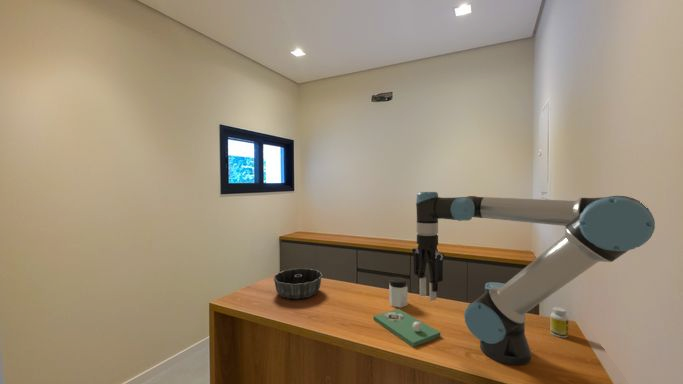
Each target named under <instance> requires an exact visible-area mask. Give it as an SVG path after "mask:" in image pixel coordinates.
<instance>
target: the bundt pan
mask: <svg viewBox="0 0 683 384" xmlns="http://www.w3.org/2000/svg"><path fill="white" fill-rule="evenodd" d="M322 278H323V274H322V272H321V271H319V270H318V269H312V268H302V267H301V268H292V269H286V270H282V271H279V272H277V274H275V275H274V276H273V281H274V285H275V290H276V293H277V294H278V295H280V296H281V297H282V298H287V300H291V299H294V300H299V299H302V300H303V299H305V298H310V297H312V296H314V295H316V294H317V293H318V291H319V290H320V288H321V283H322V282H321V281H322Z"/></svg>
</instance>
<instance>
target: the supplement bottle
mask: <svg viewBox="0 0 683 384" xmlns="http://www.w3.org/2000/svg"><path fill="white" fill-rule="evenodd" d="M549 322H550V334H551V335H553V336H555V337H557V338H563V339H564V338H565V339H566V338H567V337H569V317H568V316H567V310H566V309H565V308H563V307H559V306H554V307H552V312H551V313H550V321H549Z"/></svg>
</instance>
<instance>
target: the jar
mask: <svg viewBox="0 0 683 384" xmlns="http://www.w3.org/2000/svg"><path fill="white" fill-rule="evenodd" d="M407 281H408V280H407V279H406V278H404V277H400V276H395V277H389V286H388V287H389V289H388V290H389V291H388V293H389V294H388V295H389V297H388V298H389V300H388V301H389V304H390V305H391V307H395V308H398V309H400V308H404V307H408V300H409V299H408V282H407Z"/></svg>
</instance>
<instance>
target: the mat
mask: <svg viewBox="0 0 683 384" xmlns="http://www.w3.org/2000/svg"><path fill="white" fill-rule="evenodd" d="M373 321H374V322H376V323H377V324H379V325H381V326H382V327H384V329H386V330H387V331H389V332H391V333H392V334H393V335H395V336H397V337H398V338H399V339H400V340H402V341H404V342H405V343H406V344H408V345H409V346H410V347H412V348H414V347H417V346H420V345H422V344H425V343H428V342H430V341H432V340H435V339H437V338H441V331H439V330H437V329H435V328H434V327H432V326H430V325H428V324H426V323H425V322H423V321H421V320H420V319H417V318H416V317H414V316H412V315H410V314H409V313H407V312H405V311H403V310H401V309H400V308H395V309H393V310H389V311H386V312H383V313H379V314H376V315H373ZM414 322H420V323H421V325H422V330H421V331H420V332H416V331H414V329H413V323H414Z"/></svg>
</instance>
